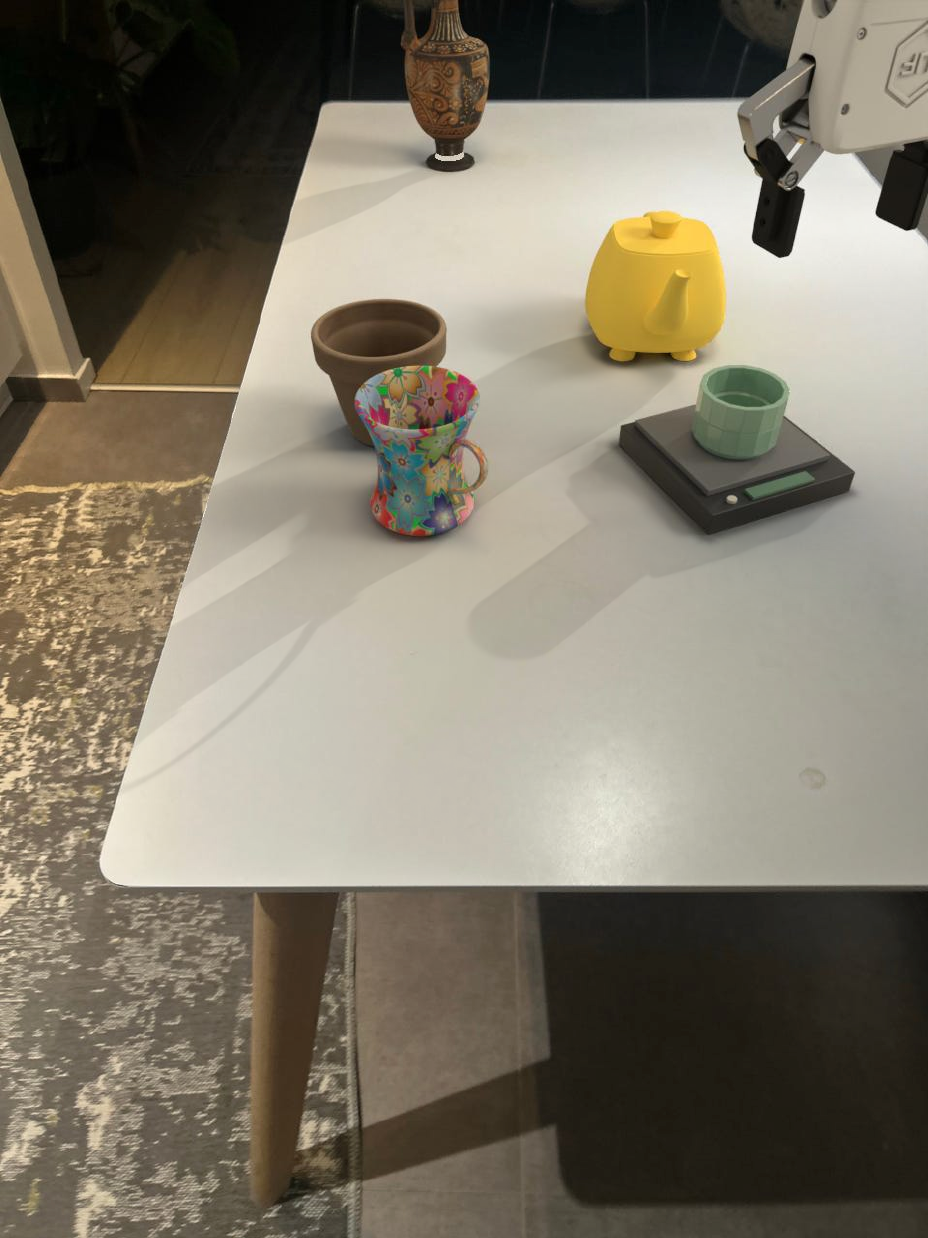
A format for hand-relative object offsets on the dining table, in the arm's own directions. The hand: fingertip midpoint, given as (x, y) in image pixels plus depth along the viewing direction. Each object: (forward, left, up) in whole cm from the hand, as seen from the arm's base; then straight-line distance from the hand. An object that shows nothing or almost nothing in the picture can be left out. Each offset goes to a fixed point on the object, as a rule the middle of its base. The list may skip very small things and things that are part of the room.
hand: (833, 235), depth 58 cm
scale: (+7, -2, -23) cm, 24 cm away
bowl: (+8, -2, -20) cm, 22 cm away
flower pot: (+25, +23, -23) cm, 41 cm away
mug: (+11, +24, -23) cm, 35 cm away
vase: (+87, -9, -23) cm, 91 cm away
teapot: (+28, -7, -23) cm, 37 cm away
